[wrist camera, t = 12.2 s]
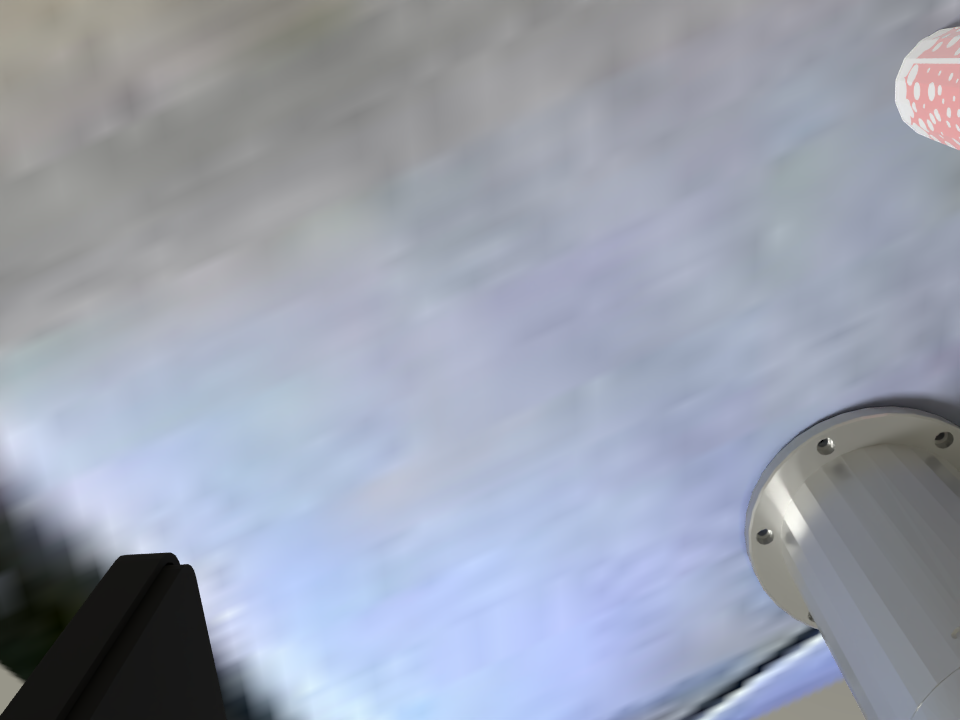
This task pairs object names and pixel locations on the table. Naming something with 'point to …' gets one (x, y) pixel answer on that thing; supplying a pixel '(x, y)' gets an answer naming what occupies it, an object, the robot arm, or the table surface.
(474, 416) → the table surface
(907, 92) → the beverage cup
